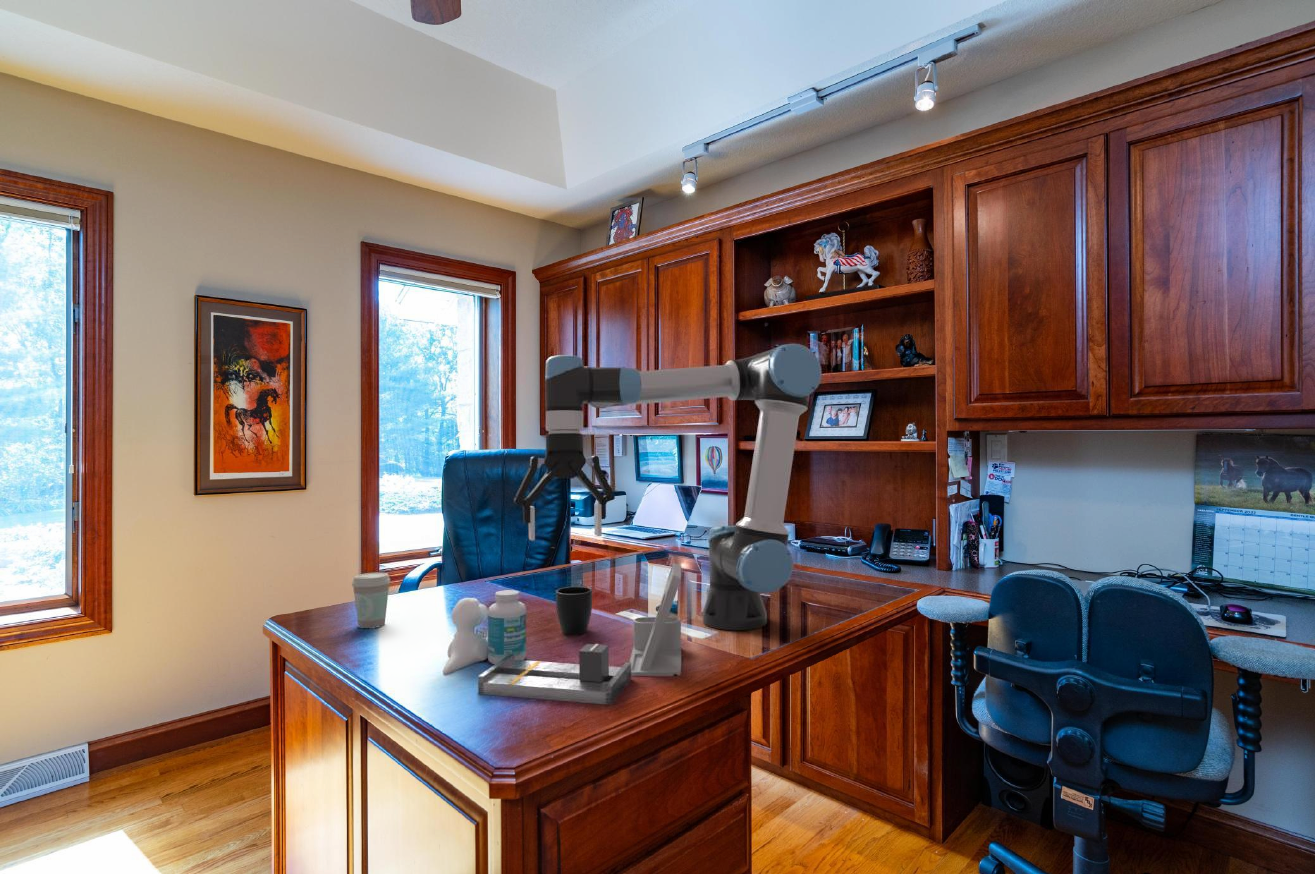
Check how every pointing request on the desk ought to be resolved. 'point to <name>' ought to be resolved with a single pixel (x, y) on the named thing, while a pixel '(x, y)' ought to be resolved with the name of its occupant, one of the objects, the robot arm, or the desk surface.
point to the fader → (594, 662)
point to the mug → (574, 609)
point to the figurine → (467, 635)
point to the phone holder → (659, 636)
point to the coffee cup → (371, 598)
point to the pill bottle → (506, 627)
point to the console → (551, 681)
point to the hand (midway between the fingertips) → (565, 537)
